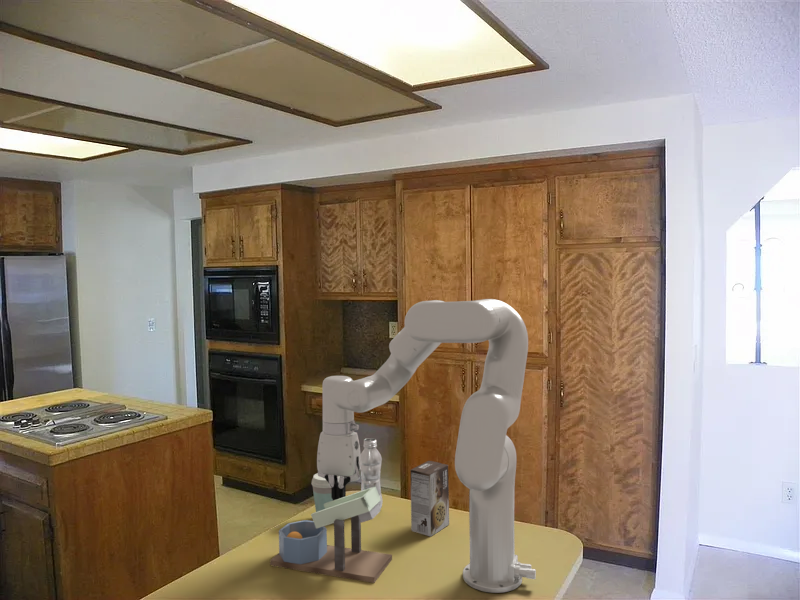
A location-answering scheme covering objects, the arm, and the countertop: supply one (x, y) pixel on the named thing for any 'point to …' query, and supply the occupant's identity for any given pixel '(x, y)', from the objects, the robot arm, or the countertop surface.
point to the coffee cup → (321, 492)
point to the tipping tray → (349, 508)
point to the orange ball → (295, 535)
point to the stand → (344, 557)
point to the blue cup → (302, 542)
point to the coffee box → (429, 498)
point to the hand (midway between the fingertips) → (338, 502)
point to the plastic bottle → (371, 467)
